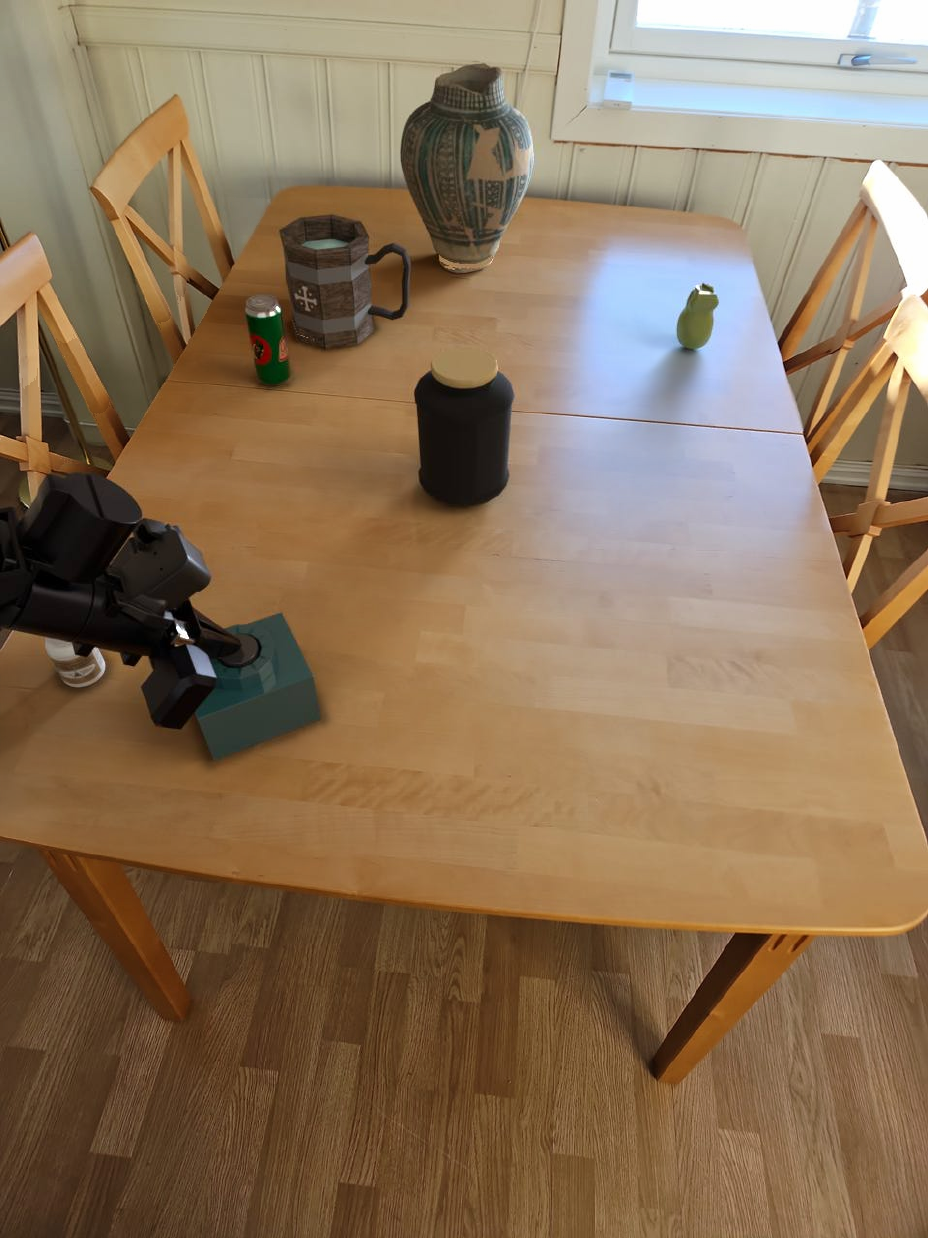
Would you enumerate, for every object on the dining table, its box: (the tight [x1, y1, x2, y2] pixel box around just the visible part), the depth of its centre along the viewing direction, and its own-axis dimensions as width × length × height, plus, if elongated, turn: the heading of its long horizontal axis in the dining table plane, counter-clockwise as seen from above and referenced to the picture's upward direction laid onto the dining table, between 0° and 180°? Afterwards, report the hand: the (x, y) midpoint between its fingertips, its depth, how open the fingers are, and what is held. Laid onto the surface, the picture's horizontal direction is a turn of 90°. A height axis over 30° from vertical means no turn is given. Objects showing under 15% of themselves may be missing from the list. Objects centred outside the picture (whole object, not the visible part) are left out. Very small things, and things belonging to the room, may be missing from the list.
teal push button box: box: [194, 611, 322, 762], centre depth 80 cm, size 11×9×9 cm
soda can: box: [244, 294, 292, 387], centre depth 118 cm, size 5×5×12 cm
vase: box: [399, 62, 535, 274], centre depth 138 cm, size 22×22×30 cm
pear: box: [675, 282, 720, 350], centre depth 128 cm, size 6×5×10 cm
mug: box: [278, 213, 412, 350], centre depth 127 cm, size 20×14×15 cm
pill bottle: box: [43, 637, 106, 688], centre depth 83 cm, size 4×4×8 cm
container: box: [413, 345, 515, 508], centre depth 100 cm, size 12×12×18 cm
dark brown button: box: [220, 634, 260, 668], centre depth 77 cm, size 4×4×2 cm
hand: (238, 646), depth 76 cm, fingers closed, pressing on dark brown button
